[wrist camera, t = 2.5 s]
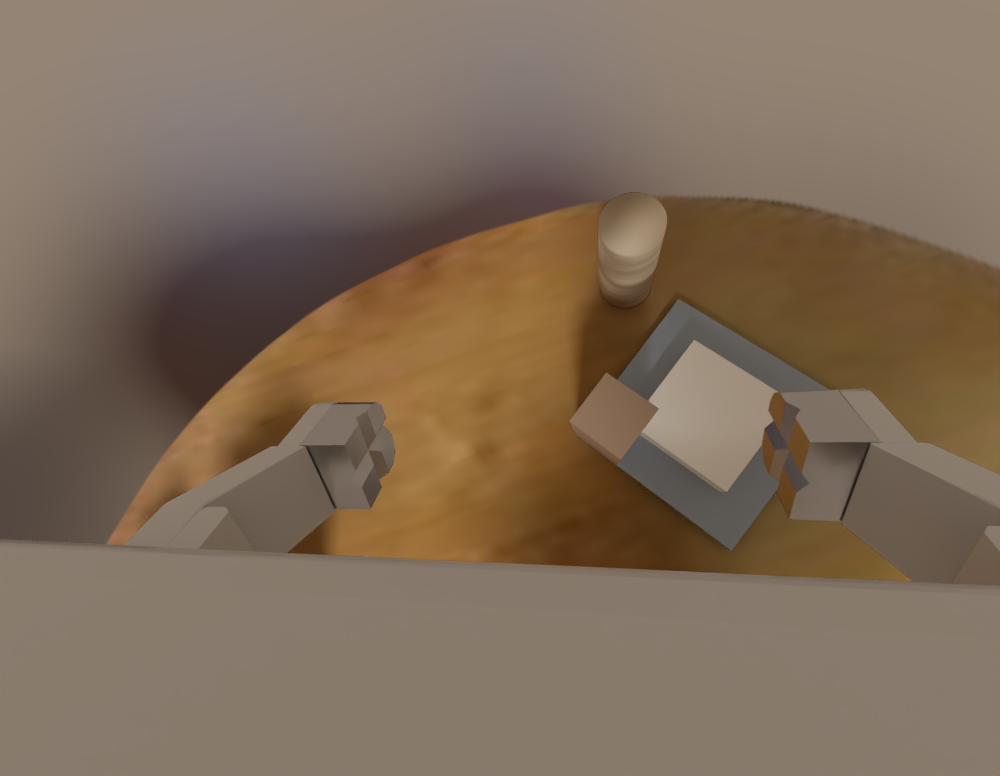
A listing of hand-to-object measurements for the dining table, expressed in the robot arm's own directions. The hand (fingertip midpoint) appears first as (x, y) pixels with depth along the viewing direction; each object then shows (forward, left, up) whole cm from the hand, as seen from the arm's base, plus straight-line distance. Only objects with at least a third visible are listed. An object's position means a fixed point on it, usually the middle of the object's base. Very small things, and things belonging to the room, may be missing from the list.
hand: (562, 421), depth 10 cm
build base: (-4, -8, -29) cm, 31 cm away
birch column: (+7, -14, -29) cm, 34 cm away
